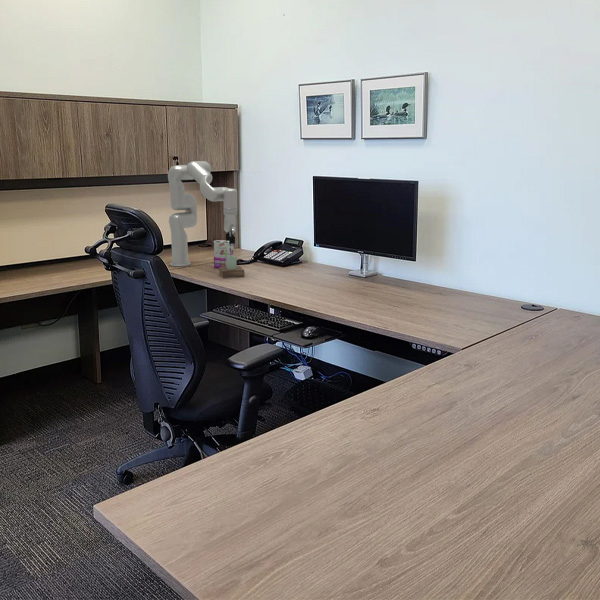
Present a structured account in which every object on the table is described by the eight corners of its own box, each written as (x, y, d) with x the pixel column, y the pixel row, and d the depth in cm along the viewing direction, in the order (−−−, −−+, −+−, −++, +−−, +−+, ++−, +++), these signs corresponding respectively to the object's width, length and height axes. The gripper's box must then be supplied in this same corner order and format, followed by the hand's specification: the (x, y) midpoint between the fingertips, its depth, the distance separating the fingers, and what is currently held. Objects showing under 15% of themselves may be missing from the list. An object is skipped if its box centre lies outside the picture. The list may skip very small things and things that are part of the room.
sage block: (226, 267, 353) (225, 255, 351) (234, 267, 354) (234, 255, 352) (227, 269, 348) (227, 257, 346) (236, 269, 350) (236, 256, 348)
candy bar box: (234, 267, 374) (233, 240, 370) (231, 269, 369) (230, 241, 365) (217, 266, 377) (216, 239, 373) (213, 268, 373) (213, 240, 369)
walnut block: (219, 273, 356) (218, 266, 355) (239, 272, 359) (239, 265, 358) (222, 278, 345) (222, 270, 344) (244, 276, 348) (244, 269, 347)
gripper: (220, 209, 350) (220, 239, 355) (226, 213, 334) (226, 245, 339) (233, 209, 353) (233, 239, 357) (240, 213, 337) (240, 244, 341)
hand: (230, 242), depth 348 cm, fingers open, 9 cm apart
